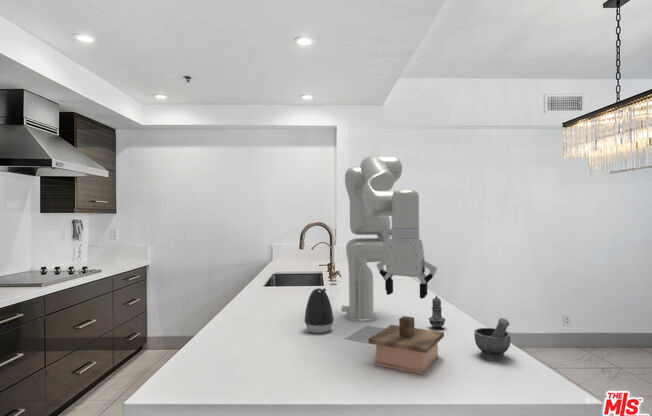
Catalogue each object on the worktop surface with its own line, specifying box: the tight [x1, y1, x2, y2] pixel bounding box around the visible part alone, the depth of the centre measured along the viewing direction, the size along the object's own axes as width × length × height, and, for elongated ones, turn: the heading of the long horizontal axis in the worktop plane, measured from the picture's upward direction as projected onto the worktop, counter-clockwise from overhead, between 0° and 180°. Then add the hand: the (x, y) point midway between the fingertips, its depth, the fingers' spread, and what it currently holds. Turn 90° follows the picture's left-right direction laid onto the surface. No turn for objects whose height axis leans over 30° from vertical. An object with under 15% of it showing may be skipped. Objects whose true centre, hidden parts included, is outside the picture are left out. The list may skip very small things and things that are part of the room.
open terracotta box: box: [375, 342, 439, 375], centre depth 110 cm, size 13×13×6 cm
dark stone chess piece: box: [428, 295, 446, 331], centre depth 141 cm, size 6×6×12 cm
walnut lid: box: [369, 315, 445, 353], centre depth 110 cm, size 16×16×6 cm
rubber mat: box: [343, 325, 386, 346], centre depth 133 cm, size 18×18×1 cm
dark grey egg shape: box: [304, 288, 334, 334], centre depth 140 cm, size 10×10×15 cm
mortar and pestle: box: [473, 317, 512, 362], centre depth 113 cm, size 11×9×12 cm
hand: (406, 295), depth 111 cm, fingers open, 9 cm apart
